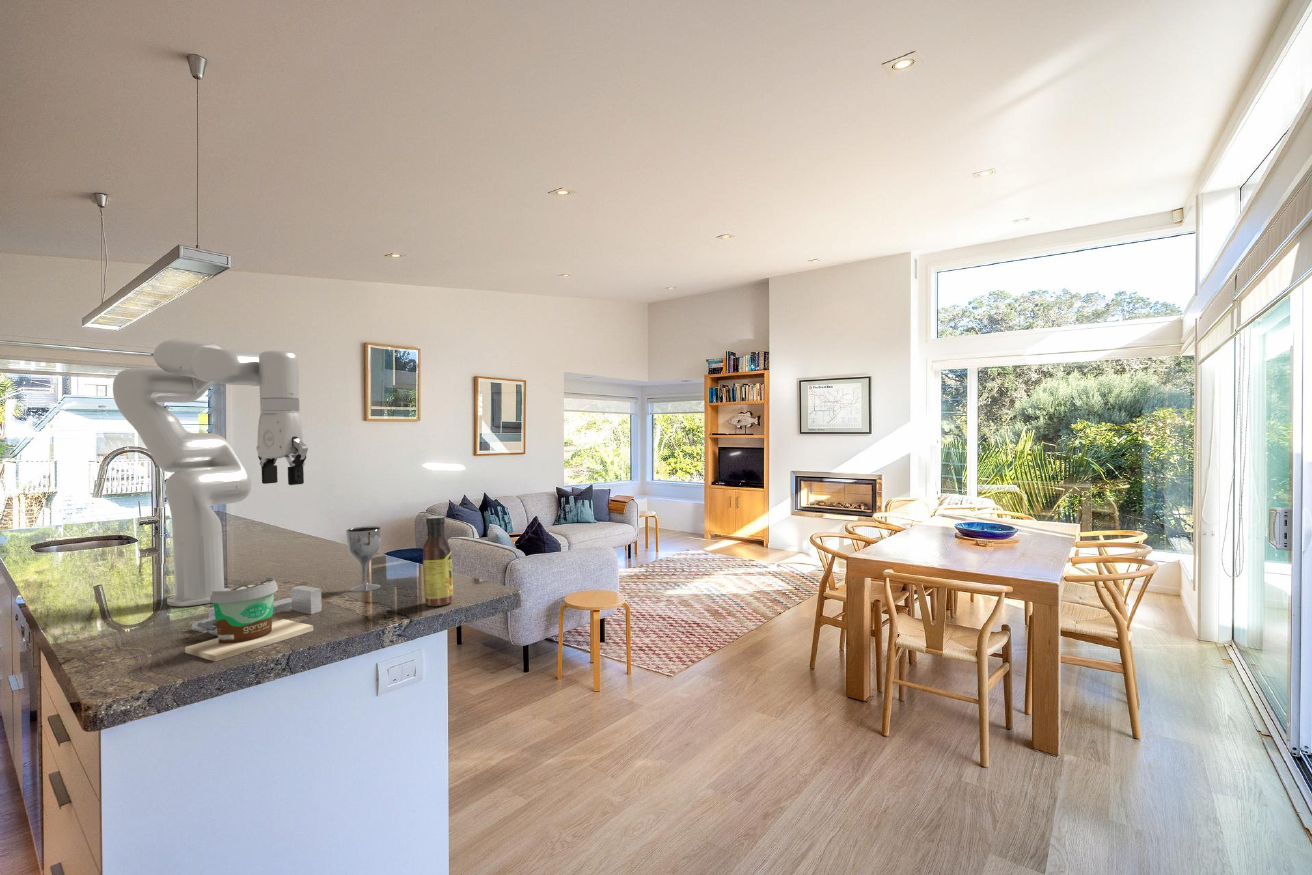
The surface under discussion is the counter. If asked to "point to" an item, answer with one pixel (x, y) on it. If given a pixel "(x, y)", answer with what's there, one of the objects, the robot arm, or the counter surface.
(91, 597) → the counter surface
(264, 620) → the food container
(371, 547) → the wine glass
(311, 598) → the vise
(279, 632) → the light wood flat board
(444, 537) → the sauce bottle
